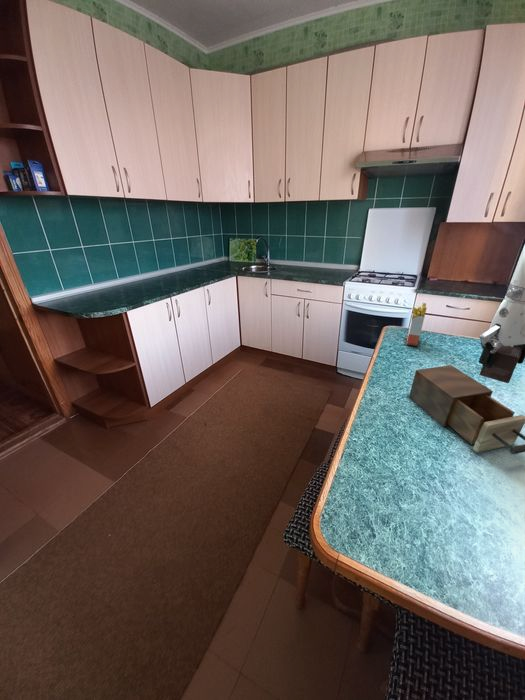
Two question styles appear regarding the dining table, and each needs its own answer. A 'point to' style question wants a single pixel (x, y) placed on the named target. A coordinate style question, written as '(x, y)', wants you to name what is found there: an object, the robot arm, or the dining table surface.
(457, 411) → the drawer
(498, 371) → the box
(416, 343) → the french fries container
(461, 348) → the dining table surface
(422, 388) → the cabinet
